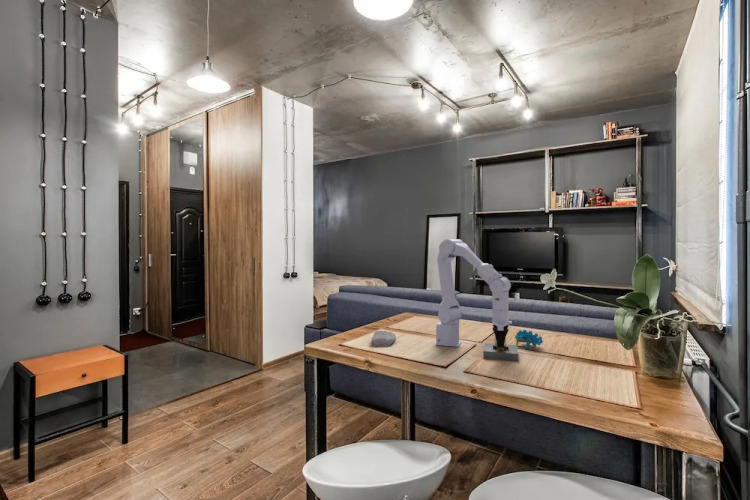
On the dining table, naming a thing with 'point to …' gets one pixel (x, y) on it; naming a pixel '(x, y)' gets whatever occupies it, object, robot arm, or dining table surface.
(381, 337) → the stone block
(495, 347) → the brass sleeve
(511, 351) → the block
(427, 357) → the dining table surface
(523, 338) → the blue toy dinosaur
